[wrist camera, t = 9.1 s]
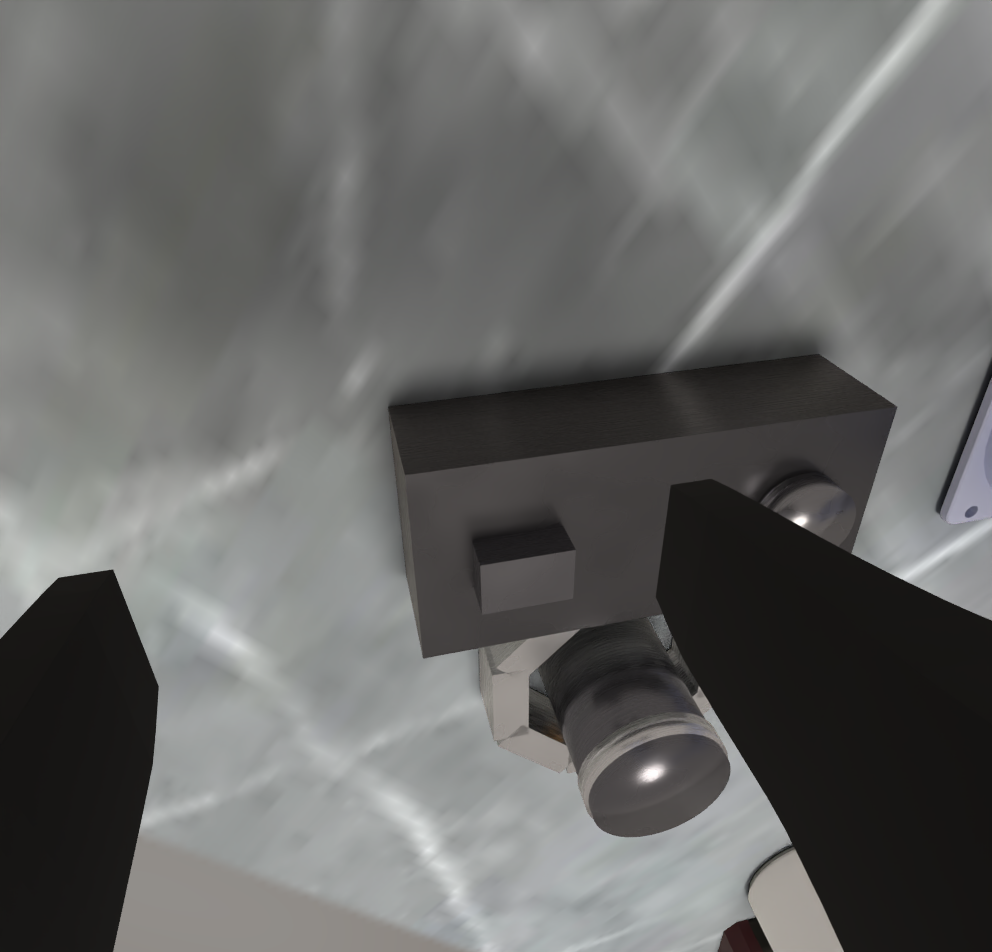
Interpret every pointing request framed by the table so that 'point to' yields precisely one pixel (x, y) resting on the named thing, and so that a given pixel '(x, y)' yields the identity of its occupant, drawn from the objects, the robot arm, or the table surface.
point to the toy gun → (745, 938)
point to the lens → (633, 730)
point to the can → (790, 907)
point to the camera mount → (605, 505)
